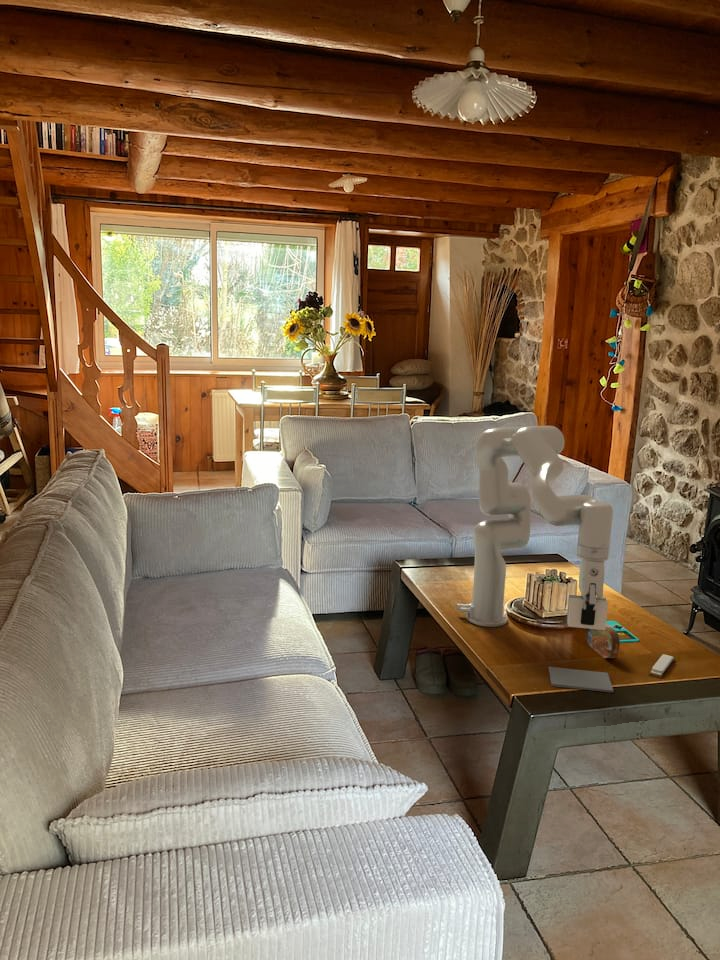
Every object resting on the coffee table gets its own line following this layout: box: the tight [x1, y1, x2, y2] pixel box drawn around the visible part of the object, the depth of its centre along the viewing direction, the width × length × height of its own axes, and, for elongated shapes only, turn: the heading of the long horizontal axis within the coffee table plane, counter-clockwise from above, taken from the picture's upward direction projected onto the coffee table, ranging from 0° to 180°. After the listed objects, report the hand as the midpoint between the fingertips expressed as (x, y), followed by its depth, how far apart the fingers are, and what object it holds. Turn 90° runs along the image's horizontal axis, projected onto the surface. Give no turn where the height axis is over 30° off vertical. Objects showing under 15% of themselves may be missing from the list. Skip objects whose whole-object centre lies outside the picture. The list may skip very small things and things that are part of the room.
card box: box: [566, 594, 609, 630], centre depth 190 cm, size 4×9×7 cm, turn 80°
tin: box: [585, 623, 621, 659], centre depth 212 cm, size 15×3×8 cm, turn 10°
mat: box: [548, 666, 614, 693], centre depth 194 cm, size 15×10×1 cm, turn 80°
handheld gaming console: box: [606, 620, 640, 644], centre depth 227 cm, size 8×1×15 cm
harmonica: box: [648, 653, 676, 679], centre depth 204 cm, size 15×3×2 cm, turn 145°
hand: (586, 620), depth 191 cm, fingers closed on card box, 3 cm apart
